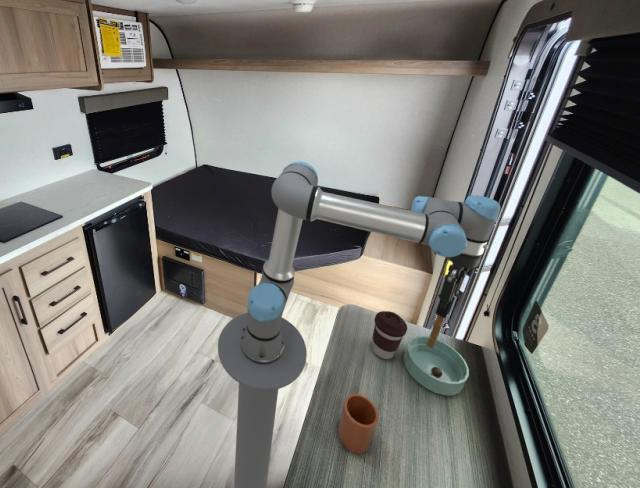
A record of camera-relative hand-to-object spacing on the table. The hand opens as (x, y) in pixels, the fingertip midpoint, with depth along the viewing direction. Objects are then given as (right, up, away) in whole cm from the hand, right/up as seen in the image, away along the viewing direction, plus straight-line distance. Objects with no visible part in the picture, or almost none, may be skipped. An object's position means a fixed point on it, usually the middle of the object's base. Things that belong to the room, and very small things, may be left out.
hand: (442, 313), depth 96 cm
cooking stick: (0, -13, +5) cm, 14 cm away
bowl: (+1, -22, +7) cm, 23 cm away
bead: (+1, -21, +4) cm, 21 cm away
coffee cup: (-12, -19, +13) cm, 26 cm away
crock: (-32, -29, -12) cm, 44 cm away
